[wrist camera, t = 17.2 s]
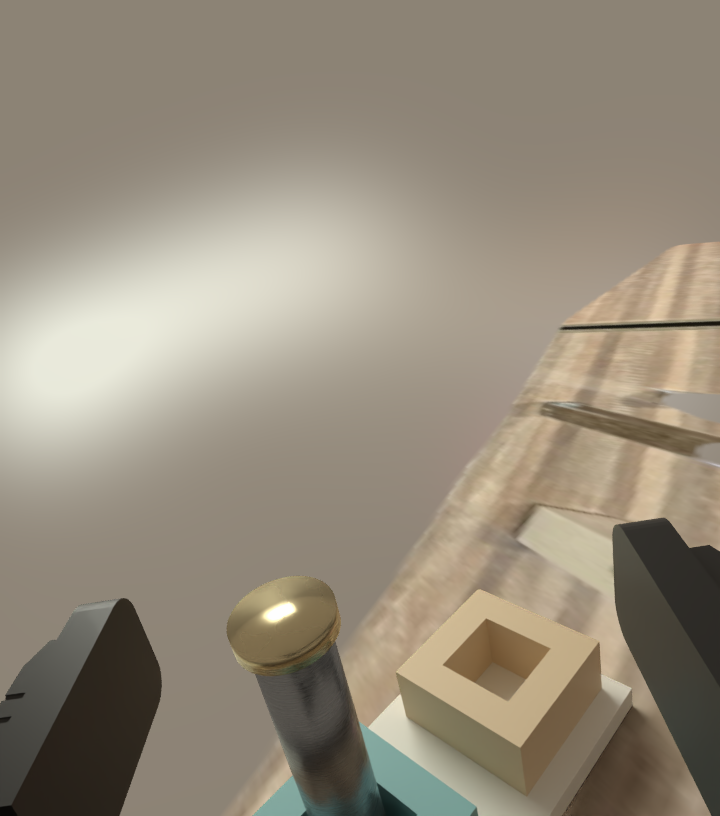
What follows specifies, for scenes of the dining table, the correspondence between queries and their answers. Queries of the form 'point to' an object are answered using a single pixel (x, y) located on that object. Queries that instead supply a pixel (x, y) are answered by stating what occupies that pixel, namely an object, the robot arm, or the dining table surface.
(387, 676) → the dining table surface
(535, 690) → the dock
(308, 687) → the pin
